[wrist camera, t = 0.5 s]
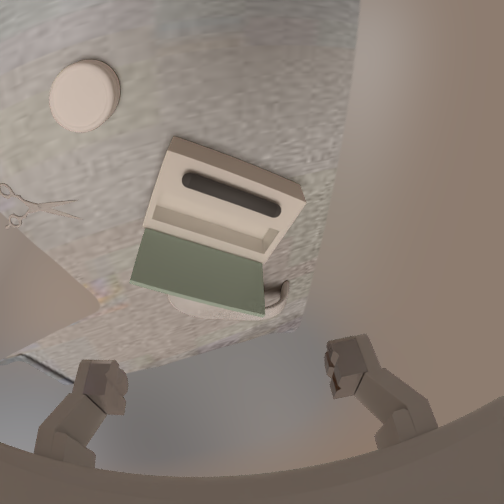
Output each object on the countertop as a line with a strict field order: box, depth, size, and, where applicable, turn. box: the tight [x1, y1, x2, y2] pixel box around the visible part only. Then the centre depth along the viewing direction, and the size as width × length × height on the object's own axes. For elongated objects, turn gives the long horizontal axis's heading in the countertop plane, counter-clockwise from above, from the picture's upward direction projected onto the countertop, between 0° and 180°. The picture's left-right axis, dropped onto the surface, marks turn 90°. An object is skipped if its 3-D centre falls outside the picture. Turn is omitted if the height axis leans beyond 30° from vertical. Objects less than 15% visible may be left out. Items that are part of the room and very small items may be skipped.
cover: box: [130, 228, 265, 318], centre depth 43 cm, size 10×19×1 cm
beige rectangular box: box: [142, 136, 307, 264], centre depth 44 cm, size 13×20×5 cm, turn 64°
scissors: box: [0, 183, 81, 229], centre depth 44 cm, size 11×1×20 cm
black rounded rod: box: [182, 172, 281, 218], centre depth 39 cm, size 2×14×2 cm, turn 64°
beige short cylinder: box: [49, 59, 120, 133], centre depth 31 cm, size 10×10×4 cm
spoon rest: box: [167, 281, 289, 320], centre depth 58 cm, size 24×12×7 cm, turn 85°
